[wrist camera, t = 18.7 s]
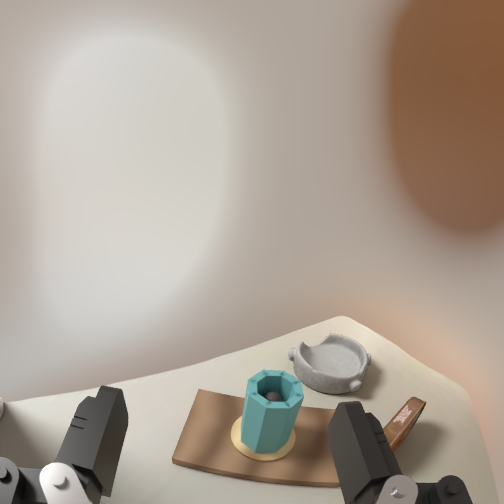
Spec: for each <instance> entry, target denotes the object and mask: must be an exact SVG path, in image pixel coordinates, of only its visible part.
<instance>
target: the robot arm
mask: <svg viewBox="0 0 504 504" xmlns="http://www.w3.org/2000/svg"><path fill="white" fill-rule="evenodd" d="M3 411H4V403H3V400H2V398H1V396H0V419H1V417H2V415H3ZM127 427H128V412H127V408H126V404H125V400H124V395H123V391H122V389H118V388H113V387H108V386H101V387H100V389H99V391H98V393H97V396H96V398H94V397H90V396H88V397H86V398H85V399H84V400H83V401H82V402H81V403H80V404H79V405H78V407H77V410H76V412H75V414H74V418H73V419H72V421H71V424H70V426H69V429H68V431H67V433H66V436H65V438H64V441H63V443H62V446H61V448H60V451H59V453H58V456H57V458H56V460H55V461H54V462H53V463H51V464H48V465H47V466H45V467H44V468H40V469H36V468H25V467H17V466H16V465H15V464H14V463H13V462H12V461H11V460H10V459H8V458H5V457H0V504H99V503H100V498H101V495H103V496H107V497H110V496H111V491H112V487H113V482H114V478H115V474H116V470H117V466H118V462H119V458H120V454H121V450H122V446H123V442H124V438H125V435H126V431H127ZM327 439H328V443H329V446H330V450H331V453H332V457H333V461H334V464H335V468H336V471H337V475H338V479H339V482H340V486H341V490H342V494H343V497H344V501H345V504H473V503H472V501H471V498H470V496H469V494H468V491H467V489H466V486H465V484H464V482H463V481H462V480H461V479H460V478H459V477H457V476H453V475H448V476H445V477H443V478H442V479H441V480H440V481H439V482H437V483H416V482H415V481H414V480H413V479H411V478H410V477H408V476H405V475H403V474H402V473H401V471H400V468H399V466H398V463H397V461H396V459H395V456H394V454H393V452H392V449H391V447H390V445H389V442H387V438H386V435H385V434H384V431H383V428H382V426H381V424H380V422H379V421H378V419H377V418H376V417H375V416H374V415H373V414H372V413H365V411H364V409H363V407H362V404H361V403H360V402H359V401H352V402H340V403H339V404H338V406H337V408H336V410H335V412H334V414H333V416H332V418H331V420H330V422H329V424H328V428H327Z"/></svg>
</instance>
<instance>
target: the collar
mask: <svg viewBox="0 0 504 504" xmlns="http://www.w3.org/2000/svg"><path fill="white" fill-rule="evenodd" d="M269 392H276V393H278V394H279V395H280V396H281V398H282V402H269V401H268V400H267V399H265V398H264V395H265V394H267V393H269ZM303 398H304V394H303V390H302V385H301V381H299V380H298V379H296V378H295V377H293V376H291V375H290V374H288V373H286V372H285V371H274V370H262V371H261V372H259V373H257V374H256V375H254V376H253V377H251V378H250V379H248V384H247V390H246V397H245V403H244V409H243V415H242V421H241V442H242V443H243V444H244V445H246V446H247V447H248V448H250V449H251V450H252V451H253V452H255V453H276V452H277V451H278V450H279V449H280V448H282V447H283V446H284V445H285V444H286V443H287V442H288V440H289V437H290V434H291V432H292V429H293V426H294V423H295V421H296V418H297V415H298V412H299V409H300V407H301V404H302V401H303Z"/></svg>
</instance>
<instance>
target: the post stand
mask: <svg viewBox="0 0 504 504" xmlns="http://www.w3.org/2000/svg"><path fill="white" fill-rule="evenodd" d="M264 398H265V399H267V400H268V401H269V402H282V398H281V396H280V395H279V394H278V393H276V392H269V393H267V394H265V395H264ZM244 403H245V398H241V397H235V396H230V395H225V394H220V393H215V392H210V391H206V390H201V389H199V390H198V393H197V395H196V398H195V400H194V403H193V405H192V408H191V410H190V413H189V416H188V418H187V421H186V423H185V426H184V428H183V431H182V433H181V436H180V438H179V441H178V444H177V446H176V449H175V451H174V454H173V456H172V462H173V463H174V464H178V465H181V466H185V467H189V468H193V469H197V470H201V471H205V472H210V473H215V474H219V475H224V476H230V477H235V478H241V479H247V480H254V481H261V482H268V483H277V484H287V485H300V486H318V487H338V486H339V484H340V482H339V479H338V475H337V471H336V468H335V464H334V461H333V457H332V453H331V450H330V446H329V443H328V439H327V428H328V424H329V422H330V420H331V418H332V416H333V414H334V412H335V409H323V408H312V407H302V406H301V407H300V409H299V412H298V415H297V418H296V421H295V423H294V426H293V429H292V432H291V434H290V437H289V440H288V442H287V443H286V444H285V445H284V446H283V447H282V448H280V449H279V450H278V451H277V452H276V453H255V452H253V451H252V450H251V449H250V448H248V447H247V446H246V445H244V444H243V443H242V442H241V421H242V415H243V409H244Z"/></svg>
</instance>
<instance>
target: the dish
mask: <svg viewBox="0 0 504 504" xmlns="http://www.w3.org/2000/svg"><path fill="white" fill-rule="evenodd" d="M289 360H291V361H293V362H294V371H295V374H296V375H297V377H298V378H299V379H300V380H301V381H302V382H303V383H304V384H305V385H307V386H308V387H310V388H312V389H314V390H317V391H320V392H324V393H330V394H342V393H347V392H350V391H352V392H354V391H357V390H358V389H359V387H360V386H361V385H362V382H361V380H362V379H363V377H364V375H365V372H366V369H367V365H370V363H371V355H370V354H366V351H365V349H364V348H363V346H362V345H361V344H359V343H358V342H356V341H355V340H352V339H351V338H348V337H346V336H343V335H338V334H329V335H328V336H326V337H325V338H324V339H323V340H322V341H321V342H320V343H318V344H316V345H314V346H311V347H308V346H307V345H305V344H304V342H300V343H299V345H298V346H297V348H292V349H291V350H290V351H289Z"/></svg>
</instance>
